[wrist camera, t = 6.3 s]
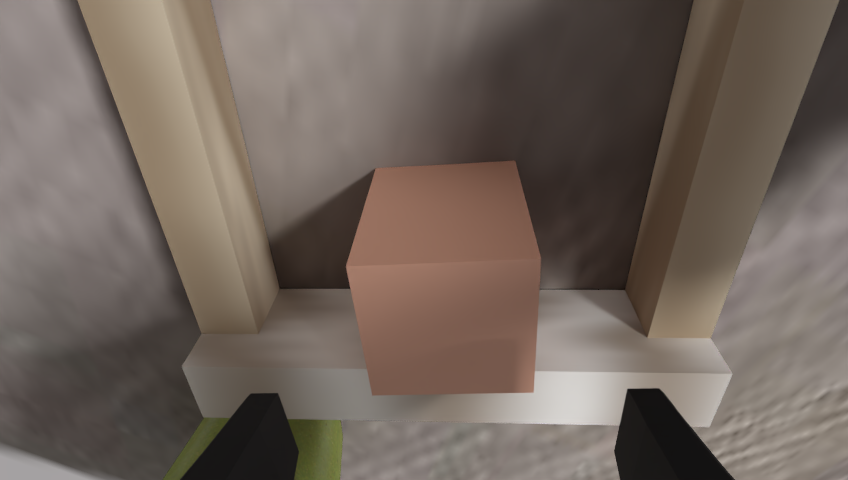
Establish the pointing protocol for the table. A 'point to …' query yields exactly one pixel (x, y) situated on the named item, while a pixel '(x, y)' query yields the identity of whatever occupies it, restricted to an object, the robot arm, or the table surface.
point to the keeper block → (447, 281)
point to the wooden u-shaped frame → (558, 309)
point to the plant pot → (312, 438)
